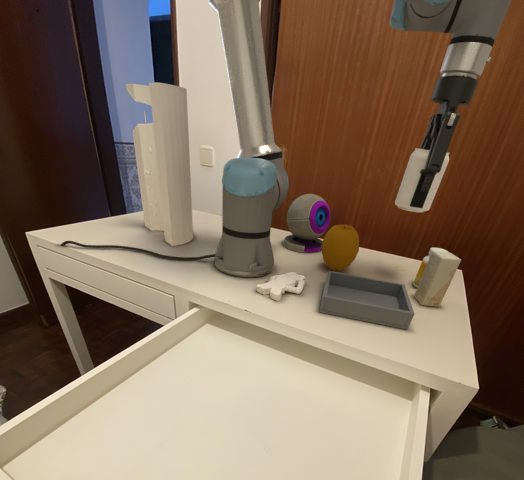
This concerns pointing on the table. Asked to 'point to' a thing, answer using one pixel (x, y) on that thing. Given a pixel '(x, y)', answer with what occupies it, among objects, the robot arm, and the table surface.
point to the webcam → (307, 223)
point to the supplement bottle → (423, 265)
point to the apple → (340, 247)
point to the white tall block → (164, 161)
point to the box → (436, 278)
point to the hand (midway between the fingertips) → (412, 203)
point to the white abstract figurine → (282, 285)
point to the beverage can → (412, 178)
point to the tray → (367, 300)
